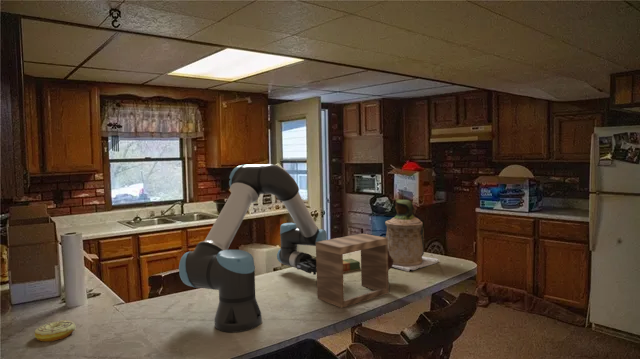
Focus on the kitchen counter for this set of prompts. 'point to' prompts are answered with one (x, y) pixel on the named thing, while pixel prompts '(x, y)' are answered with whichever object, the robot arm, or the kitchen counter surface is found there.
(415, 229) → the cookie jar
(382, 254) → the counter shelf
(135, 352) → the kitchen counter surface
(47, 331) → the decorated donut
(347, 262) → the carton
